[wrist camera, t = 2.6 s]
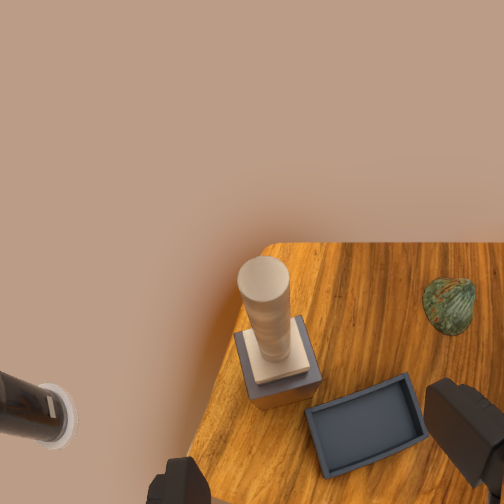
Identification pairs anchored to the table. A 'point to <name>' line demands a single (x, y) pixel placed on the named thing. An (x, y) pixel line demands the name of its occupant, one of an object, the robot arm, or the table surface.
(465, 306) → the seashell
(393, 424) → the tray
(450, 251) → the table surface
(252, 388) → the stand
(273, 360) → the wooden peg on base
